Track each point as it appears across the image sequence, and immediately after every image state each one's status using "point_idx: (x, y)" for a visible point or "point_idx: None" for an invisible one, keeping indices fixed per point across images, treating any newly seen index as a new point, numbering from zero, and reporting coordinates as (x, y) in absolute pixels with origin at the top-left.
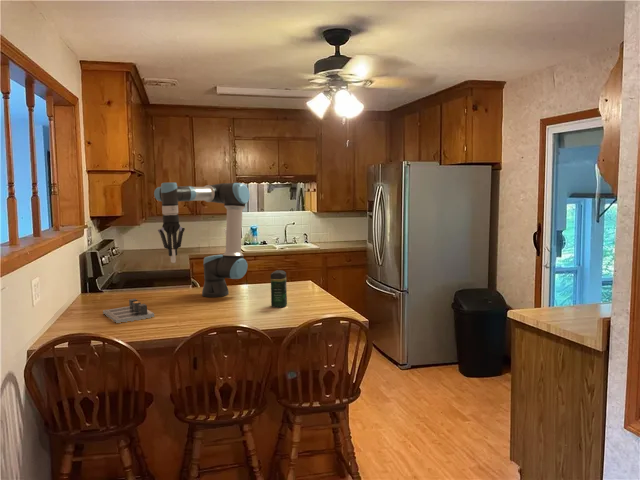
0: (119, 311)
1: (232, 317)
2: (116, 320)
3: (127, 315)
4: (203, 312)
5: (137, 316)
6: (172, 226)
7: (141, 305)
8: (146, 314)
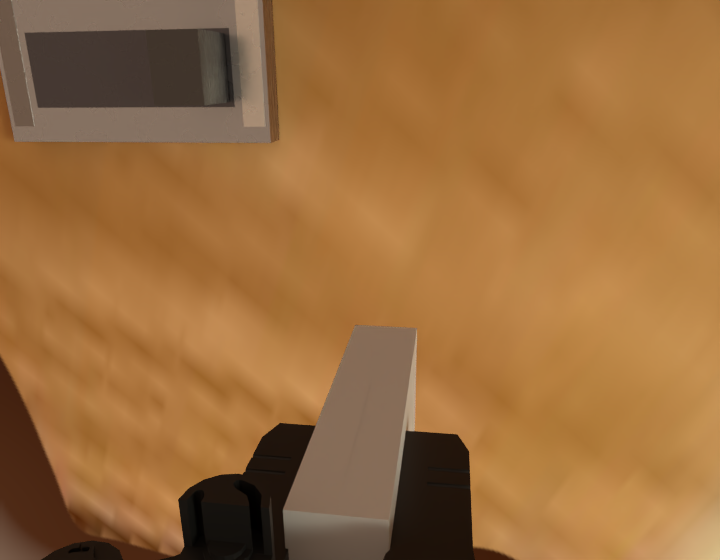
0: None
1: (677, 500)
2: (20, 141)
3: (93, 65)
4: (616, 255)
5: (152, 141)
6: None
7: (164, 87)
8: (216, 135)
